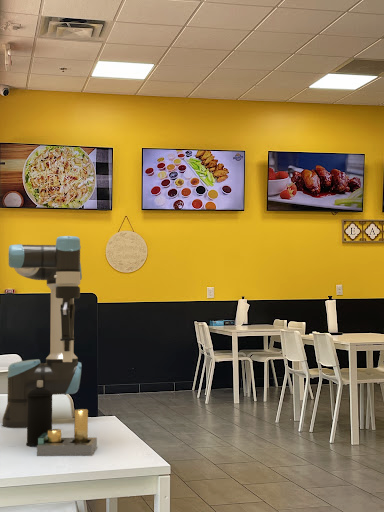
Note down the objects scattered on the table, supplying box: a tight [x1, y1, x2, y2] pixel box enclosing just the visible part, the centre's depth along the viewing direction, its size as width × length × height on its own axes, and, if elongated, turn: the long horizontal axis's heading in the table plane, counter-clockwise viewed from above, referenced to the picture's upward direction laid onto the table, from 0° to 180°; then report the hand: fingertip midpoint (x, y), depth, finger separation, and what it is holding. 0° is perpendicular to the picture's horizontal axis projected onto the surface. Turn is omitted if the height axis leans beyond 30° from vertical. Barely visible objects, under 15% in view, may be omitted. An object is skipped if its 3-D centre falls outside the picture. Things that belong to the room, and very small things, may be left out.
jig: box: [36, 428, 98, 457], centre depth 221 cm, size 12×16×6 cm
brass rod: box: [73, 408, 89, 443], centre depth 222 cm, size 4×4×12 cm
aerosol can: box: [25, 380, 54, 448], centre depth 233 cm, size 8×8×20 cm
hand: (67, 361), depth 228 cm, fingers closed
